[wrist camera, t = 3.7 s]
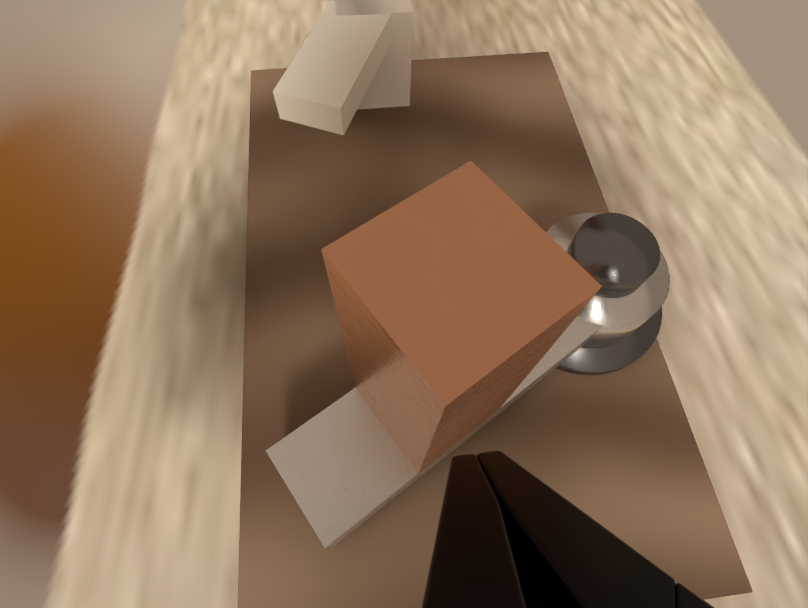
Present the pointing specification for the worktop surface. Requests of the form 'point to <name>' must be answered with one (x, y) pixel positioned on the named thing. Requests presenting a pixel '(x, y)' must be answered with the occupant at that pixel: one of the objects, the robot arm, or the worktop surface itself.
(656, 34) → the worktop surface
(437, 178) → the walnut board
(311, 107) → the block
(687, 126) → the worktop surface
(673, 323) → the worktop surface
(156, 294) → the worktop surface
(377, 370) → the lever link
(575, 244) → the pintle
